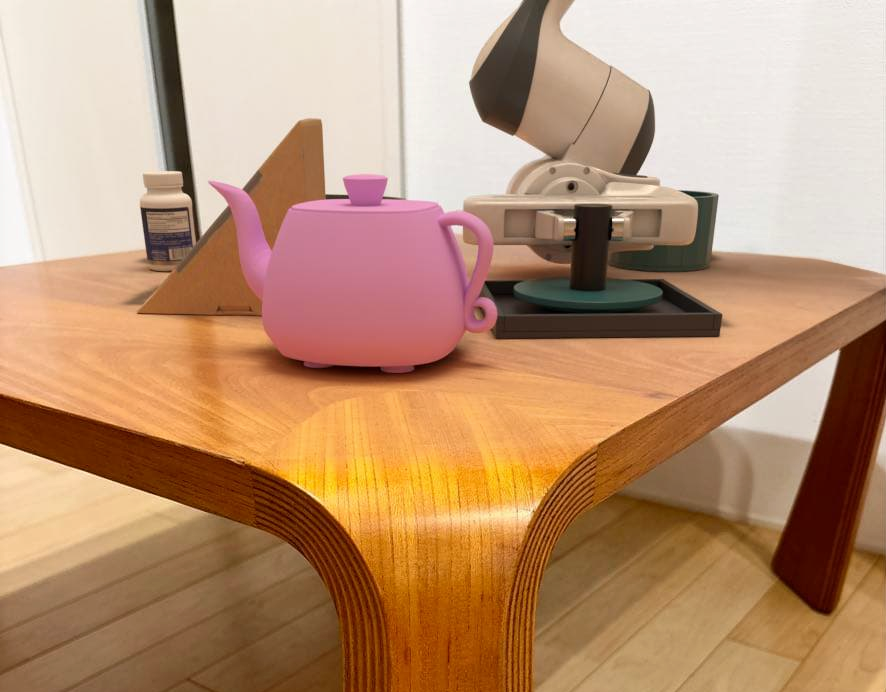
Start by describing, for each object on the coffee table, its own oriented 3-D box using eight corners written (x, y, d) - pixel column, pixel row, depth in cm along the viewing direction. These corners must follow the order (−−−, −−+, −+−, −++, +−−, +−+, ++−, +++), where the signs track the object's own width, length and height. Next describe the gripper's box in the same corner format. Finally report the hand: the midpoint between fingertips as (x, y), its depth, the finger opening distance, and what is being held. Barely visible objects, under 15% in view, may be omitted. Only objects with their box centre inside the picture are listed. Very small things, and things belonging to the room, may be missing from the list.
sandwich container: (167, 295, 85) (146, 117, 78) (331, 297, 84) (322, 118, 77) (133, 313, 77) (106, 117, 71) (313, 316, 76) (302, 118, 70)
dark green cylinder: (692, 256, 109) (699, 189, 106) (724, 271, 99) (733, 197, 95) (597, 257, 108) (602, 189, 105) (620, 272, 98) (626, 197, 95)
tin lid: (640, 289, 82) (648, 198, 79) (679, 317, 71) (691, 212, 68) (505, 290, 81) (508, 198, 78) (523, 318, 70) (528, 212, 67)
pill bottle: (159, 264, 102) (147, 170, 98) (206, 264, 102) (196, 170, 98) (140, 271, 97) (126, 173, 93) (189, 272, 97) (177, 173, 93)
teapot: (513, 342, 67) (518, 171, 62) (475, 390, 56) (479, 184, 51) (262, 328, 72) (248, 166, 67) (178, 370, 60) (154, 178, 55)
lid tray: (661, 297, 84) (663, 278, 84) (719, 336, 70) (722, 313, 69) (476, 299, 83) (476, 280, 83) (495, 338, 69) (496, 315, 68)
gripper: (453, 176, 83) (465, 187, 71) (673, 176, 84) (723, 187, 72) (452, 248, 86) (463, 271, 74) (666, 247, 87) (712, 270, 75)
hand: (594, 229), depth 73 cm, fingers closed on tin lid, 3 cm apart
